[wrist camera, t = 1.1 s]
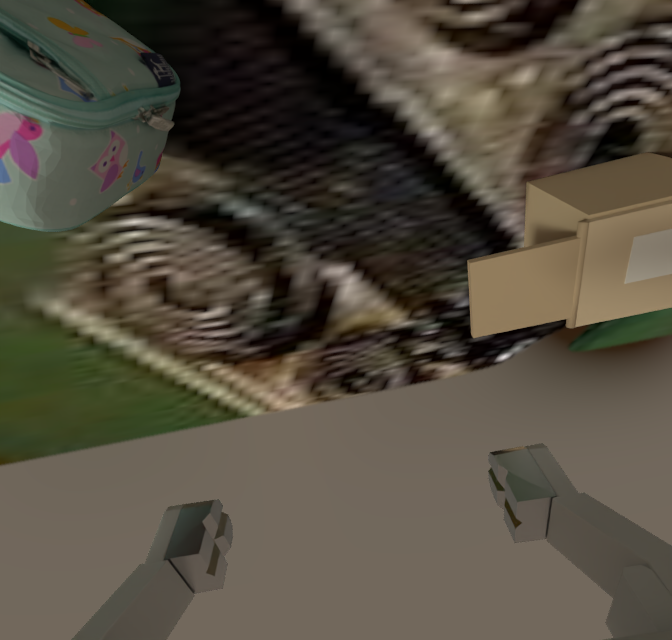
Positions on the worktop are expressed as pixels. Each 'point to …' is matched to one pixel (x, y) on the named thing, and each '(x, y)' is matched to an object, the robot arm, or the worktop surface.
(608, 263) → the lid
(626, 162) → the mailer box
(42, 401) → the worktop surface
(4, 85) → the lunch box
